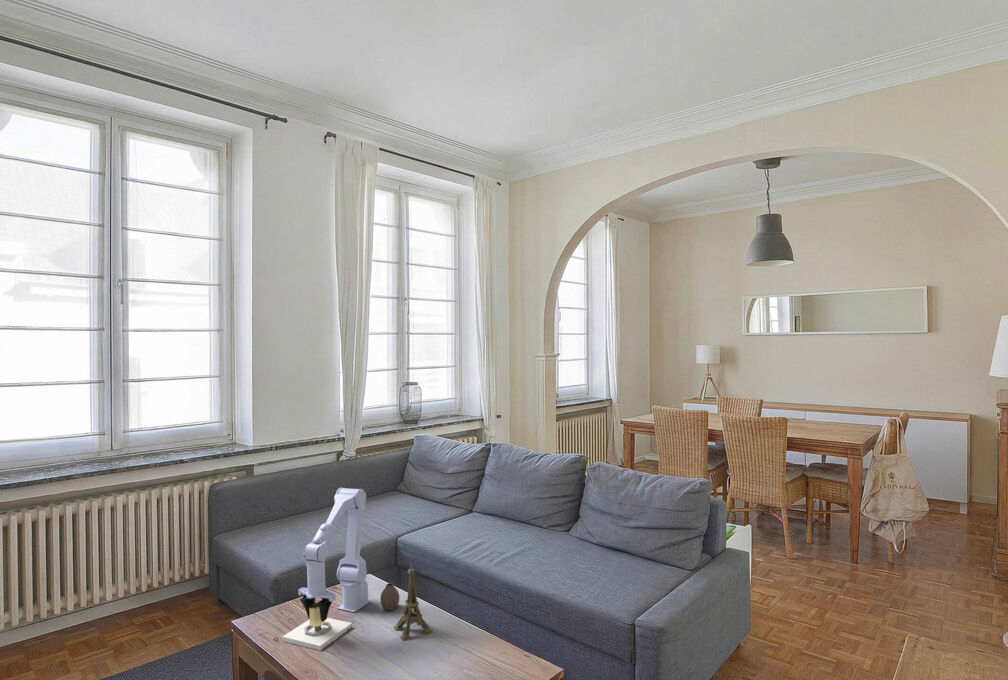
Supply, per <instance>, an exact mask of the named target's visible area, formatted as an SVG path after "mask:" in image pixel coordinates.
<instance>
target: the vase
mask: <svg viewBox="0 0 1008 680" xmlns="http://www.w3.org/2000/svg"><path fill="white" fill-rule="evenodd" d="M380 594H381V595H380V605H381V607H382V608H383V609H384V610H385V611H393V609H394V610H395V609H396V608H397V607H398V606H399V604H400V593H399V590H398V589H397V588H396V587H395V586H394V584H393V583H391V582H389V583H387V584H386V585H385V587H384V588H383V590H382V592H381V593H380Z"/></svg>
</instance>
